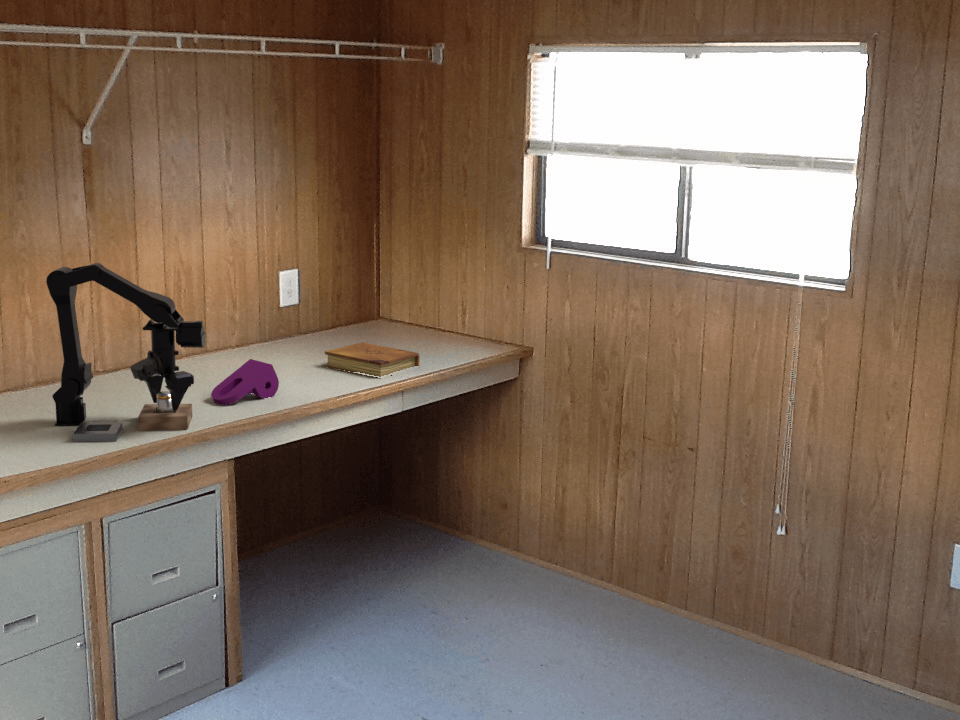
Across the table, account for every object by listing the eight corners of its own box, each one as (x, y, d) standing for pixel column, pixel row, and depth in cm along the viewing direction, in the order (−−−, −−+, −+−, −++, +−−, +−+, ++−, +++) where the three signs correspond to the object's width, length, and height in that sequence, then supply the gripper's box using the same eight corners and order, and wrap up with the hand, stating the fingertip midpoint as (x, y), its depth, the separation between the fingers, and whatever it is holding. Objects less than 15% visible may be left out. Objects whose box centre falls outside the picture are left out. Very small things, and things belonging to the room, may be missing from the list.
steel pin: (156, 425, 290) (155, 395, 288) (158, 421, 294) (157, 391, 292) (173, 425, 290) (172, 395, 289) (174, 420, 294) (173, 391, 292)
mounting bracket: (237, 426, 312) (282, 388, 322) (225, 402, 307) (272, 364, 318) (215, 419, 318) (260, 382, 328) (204, 395, 313) (250, 358, 323)
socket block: (138, 430, 285) (138, 416, 285) (145, 417, 297) (144, 404, 296) (187, 429, 287) (187, 416, 286) (192, 416, 299) (191, 403, 298)
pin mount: (73, 441, 275) (73, 434, 274) (81, 429, 284) (81, 422, 284) (116, 441, 276) (115, 433, 276) (122, 429, 286) (122, 421, 285)
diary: (419, 370, 358) (419, 352, 357) (381, 381, 343) (381, 362, 342) (363, 358, 371) (364, 341, 370) (324, 368, 356) (324, 350, 355)
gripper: (115, 345, 288) (118, 404, 292) (154, 358, 276) (156, 419, 279) (154, 339, 296) (156, 397, 299) (194, 351, 283) (196, 411, 287)
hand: (165, 406), depth 291 cm, fingers open, 9 cm apart
